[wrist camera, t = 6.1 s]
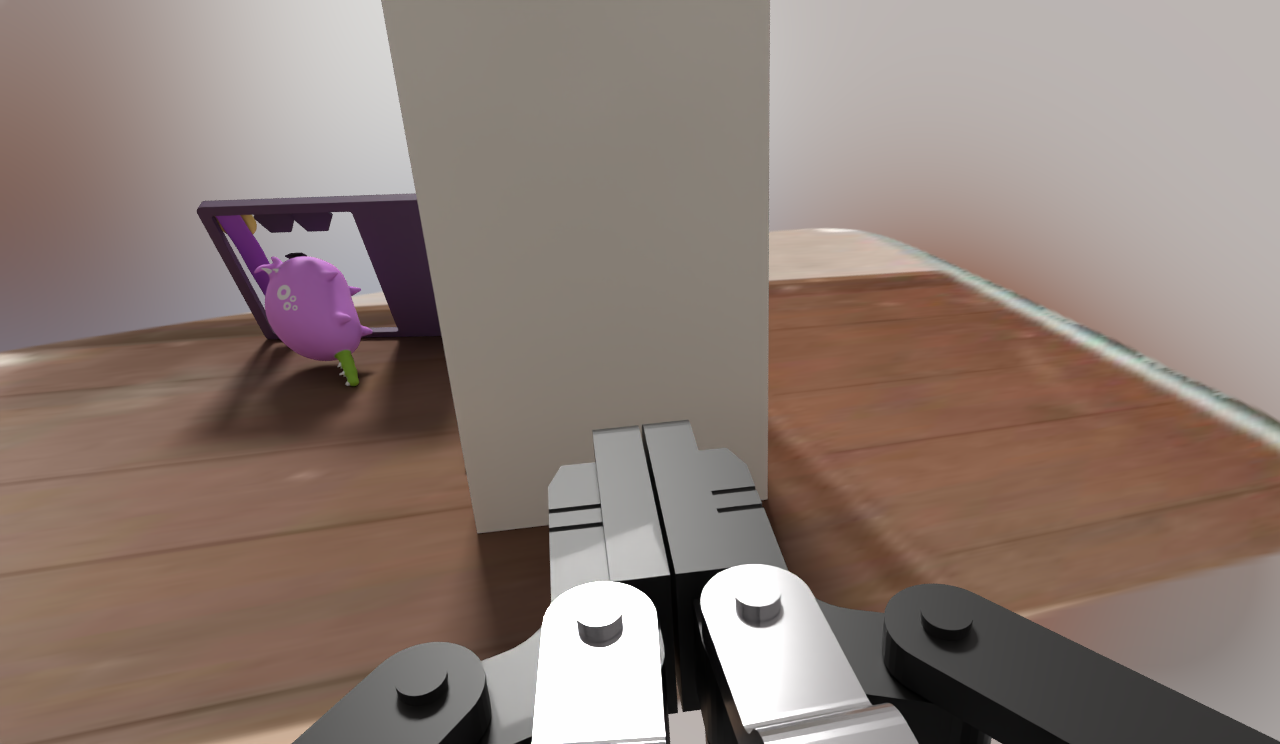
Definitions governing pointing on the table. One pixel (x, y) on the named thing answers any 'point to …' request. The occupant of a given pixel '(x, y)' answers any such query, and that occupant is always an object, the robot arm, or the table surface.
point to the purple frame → (328, 271)
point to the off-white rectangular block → (591, 225)
